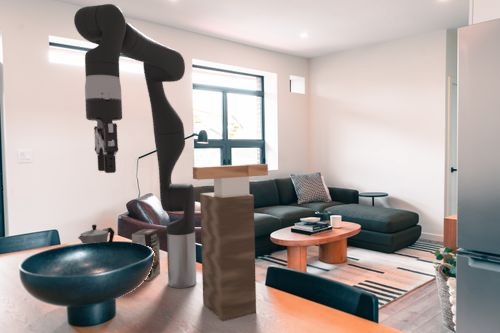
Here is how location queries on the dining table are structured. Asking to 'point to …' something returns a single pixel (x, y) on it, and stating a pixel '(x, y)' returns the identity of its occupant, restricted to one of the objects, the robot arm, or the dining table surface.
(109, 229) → the coffeepot
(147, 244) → the coffee box
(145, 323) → the dining table surface
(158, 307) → the dining table surface
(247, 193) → the block
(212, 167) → the bar
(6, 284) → the dining table surface
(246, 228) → the stand
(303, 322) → the dining table surface
